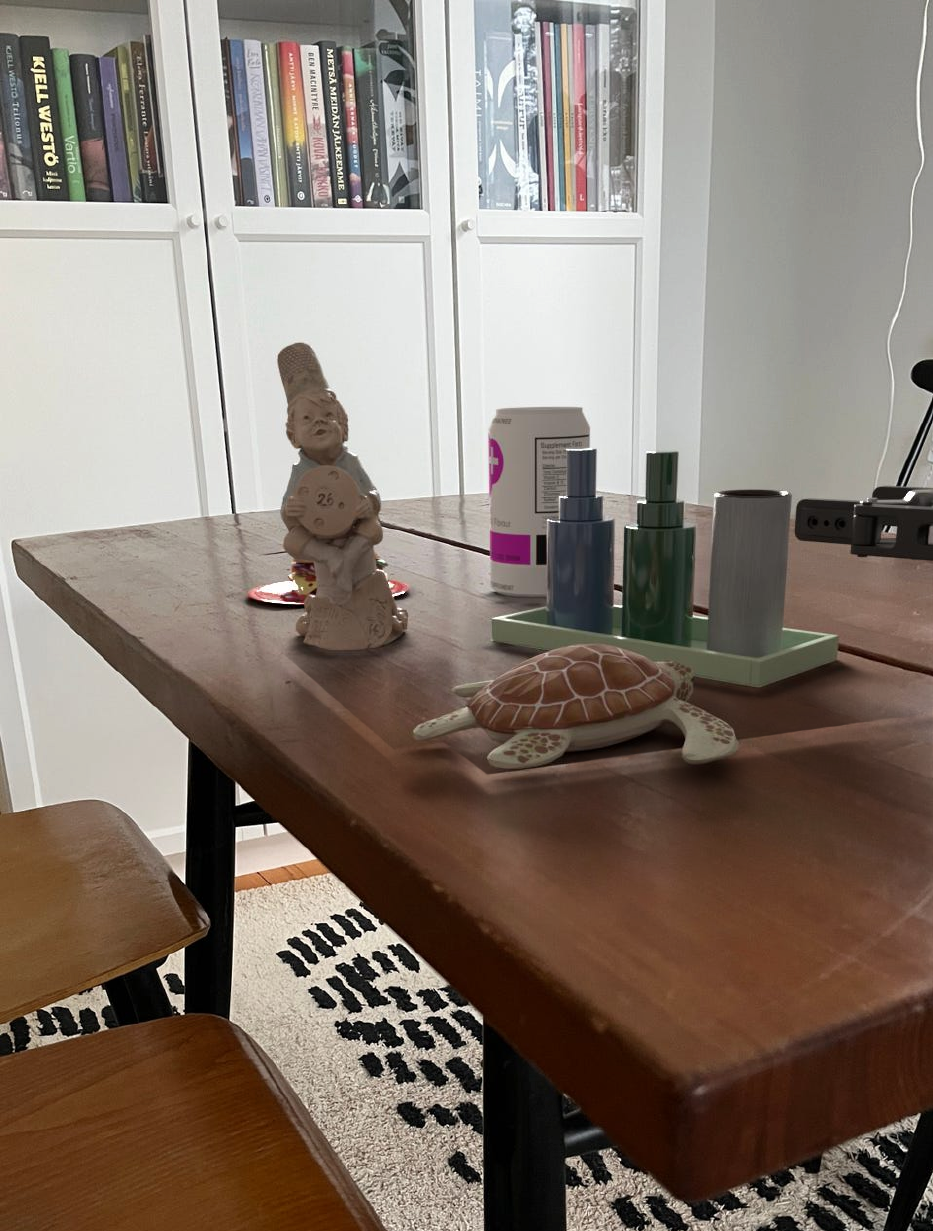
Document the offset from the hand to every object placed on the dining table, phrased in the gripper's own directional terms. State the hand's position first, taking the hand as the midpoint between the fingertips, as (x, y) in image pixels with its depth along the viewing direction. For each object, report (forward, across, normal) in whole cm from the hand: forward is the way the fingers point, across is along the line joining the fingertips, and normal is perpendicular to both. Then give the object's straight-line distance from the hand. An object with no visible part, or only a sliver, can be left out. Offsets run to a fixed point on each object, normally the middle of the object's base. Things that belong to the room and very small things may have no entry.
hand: (837, 511), depth 69 cm
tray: (+12, 0, +10) cm, 16 cm away
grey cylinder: (+6, 0, +10) cm, 11 cm away
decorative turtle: (+3, +19, +10) cm, 22 cm away
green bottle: (+12, 0, +10) cm, 16 cm away
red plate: (+49, -2, +10) cm, 50 cm away
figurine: (+31, +10, +10) cm, 35 cm away
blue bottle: (+19, 0, +10) cm, 21 cm away
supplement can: (+34, -13, +10) cm, 38 cm away
